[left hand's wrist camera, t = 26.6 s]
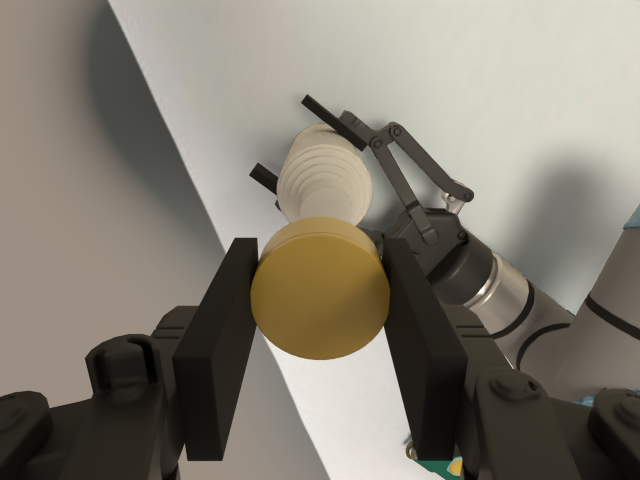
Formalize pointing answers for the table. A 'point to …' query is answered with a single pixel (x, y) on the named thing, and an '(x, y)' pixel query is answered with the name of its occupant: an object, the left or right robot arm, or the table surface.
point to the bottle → (324, 178)
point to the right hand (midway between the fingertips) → (278, 134)
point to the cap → (320, 289)
